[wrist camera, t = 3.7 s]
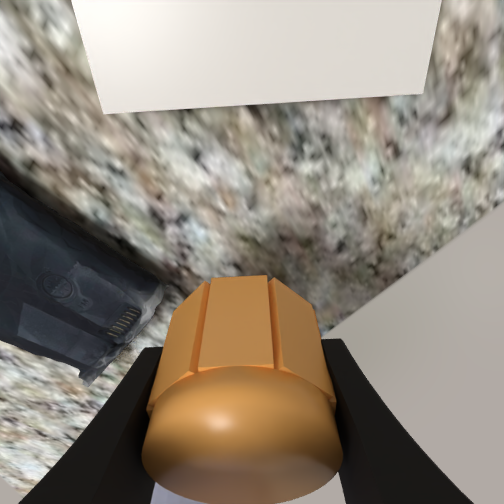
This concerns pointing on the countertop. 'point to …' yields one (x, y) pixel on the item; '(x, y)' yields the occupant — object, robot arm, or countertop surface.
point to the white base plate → (253, 50)
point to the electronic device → (67, 288)
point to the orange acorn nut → (242, 397)
